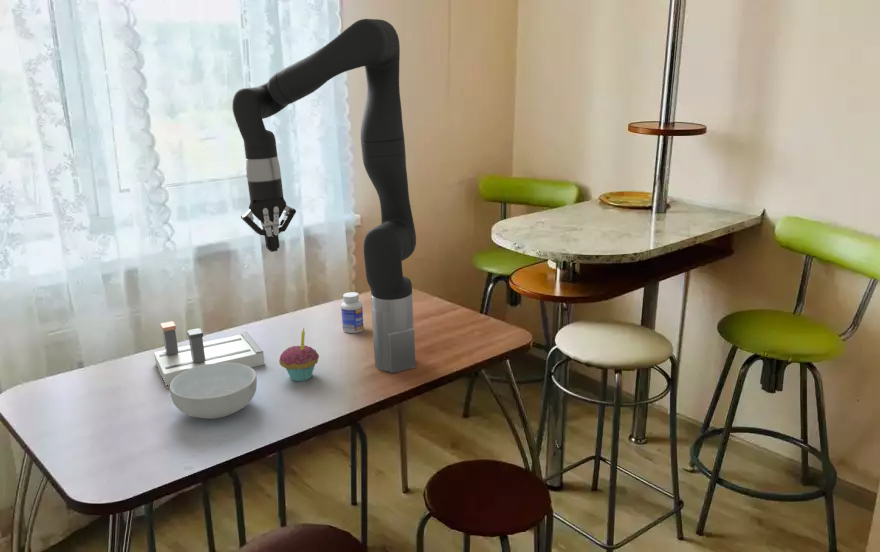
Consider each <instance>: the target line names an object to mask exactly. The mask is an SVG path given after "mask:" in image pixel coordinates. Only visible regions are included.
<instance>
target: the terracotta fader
mask: <svg viewBox="0 0 880 552" xmlns="http://www.w3.org/2000/svg"><path fill="white" fill-rule="evenodd" d="M160 329H161V331H162V337H163V343H164V344H163V345H164V350H165V351H166V353H167V355H173V354H177V353H178V347H179V346H178V341H177V340H178V338H177V335H176V334H177V333H176V330H177V327H176V324H175V322H174V320H171V321H166V322H160Z"/></svg>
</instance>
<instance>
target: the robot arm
mask: <svg viewBox="0 0 880 552" xmlns="http://www.w3.org/2000/svg"><path fill="white" fill-rule="evenodd" d="M400 50H401V49H400V39H399V35H398V32H397V30H396V28H395V27H394V26H393V25H392V24H391V23H390V22H389V21H386V20H383V19H379V18H378V19H377V18H375V19H373V18H363V19H358V20H357V21H355V22H353V23H352V24H351V25H349V26H348V27H347V28H346V29H344V30H343V31H342V32H341V33H339V34H338V35H337V36H335V38H333V39H332V40H331V41H330V42H328V43H327V44H326V45H324V46H323V47H321V48H319V49H318V50H316V51H315V52H313V53H311V54H309V55H308V56H306V57H304V58H303V59H300V60H298V61H296V62H295V63H292V64H291V65H288V66H287V67H285V68H283V69H281V70H280V71H278V72H276V73H274V74H273V75H272V76H271V77H269V79H268V81H267V82H265V83H263V84H261V85H258V86H252V87H243V88H241V89H238V90H236V92H235V93H234V95H233V98H232V106H231V107H232V113H233V117H234V119H235V123H236V125H237V128H238V130H239V133H240V135H241V137H242V141H243V147H244V154H245V170H246V171H245V172H246V176H245V177H246V179H247V187H248V193H249V201H250V202H249V206H248V211H247V212H246V213H245V214H244V213H243V214H241V215H240V219H241V220H242V221H244V223H245V224H246V225H248V226H249V228H251V229H252V230H253V231H254V232H255V233H256V234H258V235H259V236H263V237H264V241H265V248H266V249H267V250H268V251H269V252H270V253H273V252H278V249H280V238H279V235H280V234H281V233H284V232H285V231H286V230H287V229H288V227H289V225H290V223H291V221H292V220H293V219H294V216H295V215H296V213H297V210H296V209H295V208H293V207H290V206H289V205H287V202H286V200H285V198H284V191H283V181H282V174H281V173H282V172H281V166H280V161H279V157H278V150H277V141H276V136H275V134H274V132H273V131H271V130H267V128H266V126H265V124H264V121H263V119H267V118H271V117H272V116H275V115H276V114H278V113H280V112H281V111H282V110H284V109H285V108H286V107H288V106H289V105H291V104H293V103H295V102H297V101H299V100H301V99H303V98H305V97H306V96H309V95H311V94H312V93H315V92H316V91H317V90H319V89H320V88H321V87H322V86H324V85H325V84H326V83H327V82H329V81H330V80H331V79H333V78H335V77H337V76H338V75H341V74H343V73H346V72H348V71H352V70H355V69H360V68H363V67H364V69H365V78H366V89H367V90H366V100H365V106H364V109H363V114H362V119H361V124H360V147H361V154H362V155H361V156H362V162H363V166H364V168H365V171H366V174H367V176H368V177H369V179H370V182H371V183H372V185H373V187H374V189H375V191H376V193H377V196H378V200H379V206H380V216H381V217H380V218H381V220H380V221H381V223H380V224H379V225H378V226H377V225H376V226H374V227H372V228H371V229H370V230H369V231H367V233H366V235H365V237H364V241H363V257H364V258H363V259H364V266H365V267H364V268H365V276H366V281H367V284H368V286H369V288H370V297H371V316H372V318H371V319H372V336H373V337H372V338H373V350H374V351H373V352H374V366H375V368H376V369H378V370H380V371H384V372H389V373H391V374H394V373H400V372H403V371H406V370H410V369H414V368H415V369H416V344H415V341H416V340H415V339H416V338H415V329H414V306H413V304H414V303H413V302H414V301H413V283H412V281H411V279H410V278H408V277H407V276H404V272H403V261H404V260H406V259H408V258H409V257H410V256H412V255H413V253H414V251H415V249H416V246H417V236H416V235H417V233H416V228H415V221H414V218H413V213H412V207H411V206H412V205H411V201H410V195H409V184H408V183H409V181H408V173H407V172H408V171H407V161H406V159H407V157H406V143H405V133H404V125H403V111H402V102H401V95H400V94H401V92H400V56H401V53H400V52H401V51H400ZM283 214H284V215H283ZM282 215H283V217H282ZM254 217H256V218H257V219H258V220H259V221H260V225H261V227H262V228H261V227H260V226H259V225H258V224H256V223H255V221H254V220H255V218H254ZM281 217H282V218H281ZM280 219H281V220H280Z"/></svg>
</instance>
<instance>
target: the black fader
mask: <svg viewBox="0 0 880 552" xmlns="http://www.w3.org/2000/svg"><path fill="white" fill-rule="evenodd" d="M186 334H187V336H188V339H189V345H190V349H191V356H192V360H193V362H194V363H199V362H204V361H205V354H204V346H203V342H204V339H203V337H204V332H203V331H202V329H201V328H200V327H197V328H193V329H188V330H186Z"/></svg>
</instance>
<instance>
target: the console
mask: <svg viewBox="0 0 880 552" xmlns="http://www.w3.org/2000/svg"><path fill="white" fill-rule="evenodd" d="M203 346H204V354H205V361H204V362H199V363H194V362H193V360H192V356H191V349H190V344H188V345H187V344H186V345H184V346H178V353H177V354H173V355H167V353H166V351H165V349H162V350H158V351H154V352H153V355H154V361H155V366H156V365H157V366H156V367H158V368H157V370H158V372H159V374H160V376H162V377H161V379H162V378H163V379H162V381H163V380H164V381H163V383H164V382H165V383H164V385H165V387H168V386H167V385H170V383H171V381H172V380H173V379H174V378H175V377H176V376H177V375H179V374H181V373H182V372H184V371H186V370H189V369H191V368H194V367H197V366H201V365H206V364H212V363H238V364H243V365H246V366H249V367H250V368H254V367H259V366H262V365H263V366H264V365H265V356H264V350H263V349H262V348H261V347H260V345H259V344H258V343H257V342H256V340H255V339H254V338H253V337H252V335H251V334H250V333H249V332H248V331H245V332H241V333H240V334H237V335H232V336H228V337H223V338H222V337H221V338H218V339H212V340H208V341H203Z"/></svg>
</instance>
